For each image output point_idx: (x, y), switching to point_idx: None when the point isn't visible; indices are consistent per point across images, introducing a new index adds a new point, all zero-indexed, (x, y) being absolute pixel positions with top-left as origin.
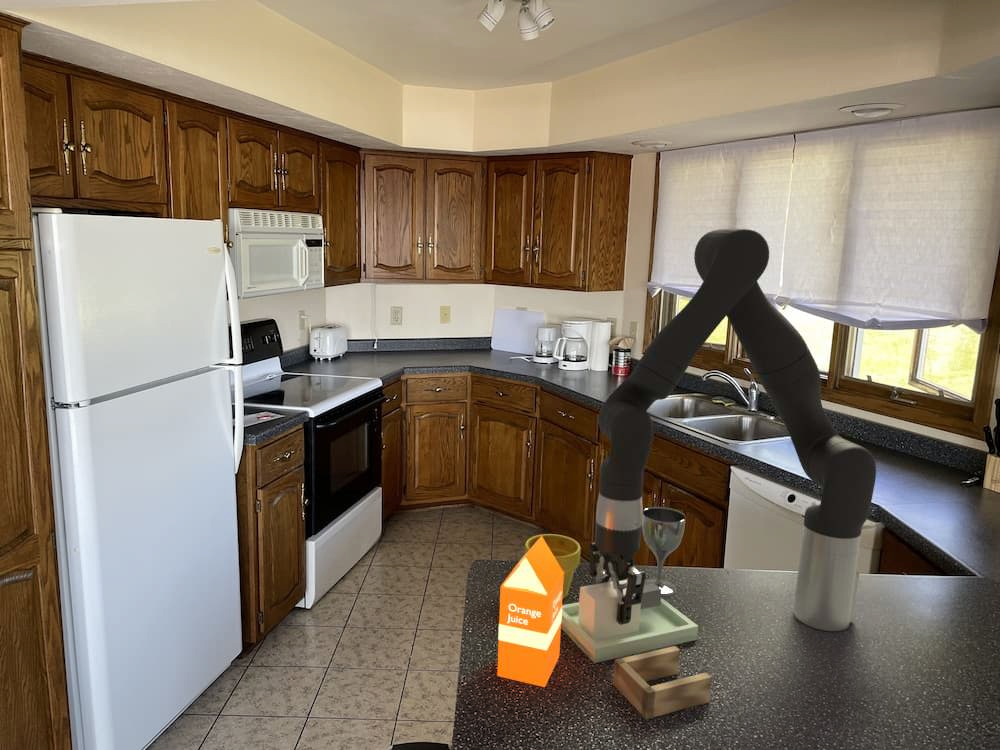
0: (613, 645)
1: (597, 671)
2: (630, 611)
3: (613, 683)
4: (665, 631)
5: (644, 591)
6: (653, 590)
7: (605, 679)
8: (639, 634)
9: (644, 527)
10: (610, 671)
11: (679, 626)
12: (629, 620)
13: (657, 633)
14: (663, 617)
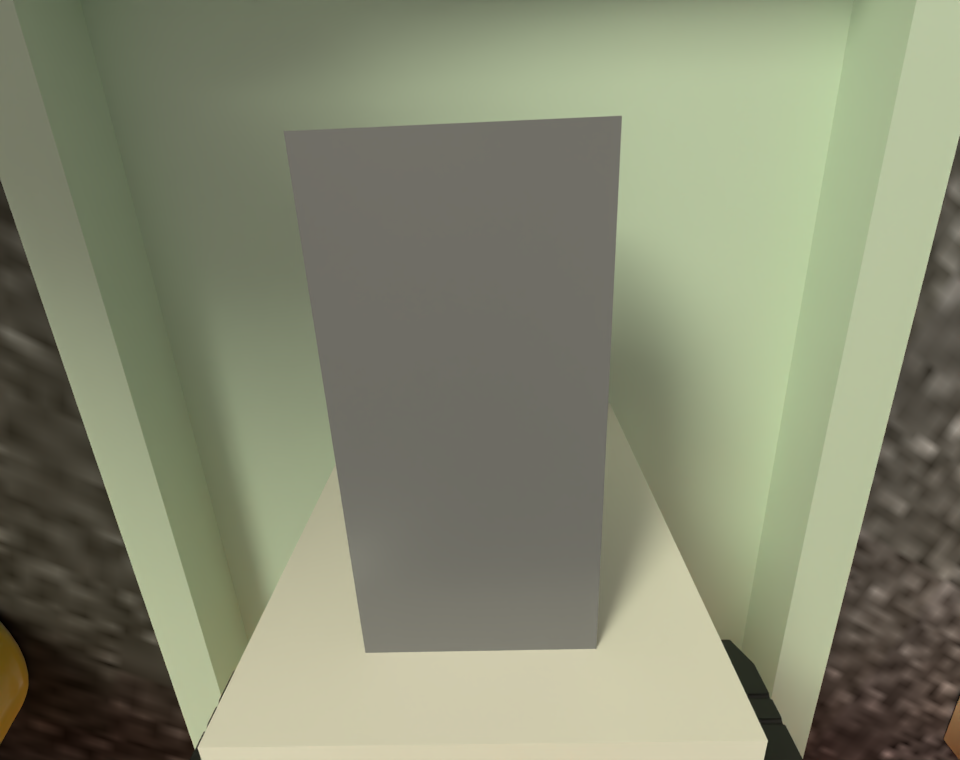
0: (805, 740)
1: (808, 751)
2: (793, 755)
3: (948, 742)
4: (887, 294)
5: (565, 506)
6: (591, 326)
7: (886, 748)
8: (665, 431)
9: None
10: (845, 704)
11: (903, 65)
12: (737, 656)
13: (869, 389)
14: (490, 28)
